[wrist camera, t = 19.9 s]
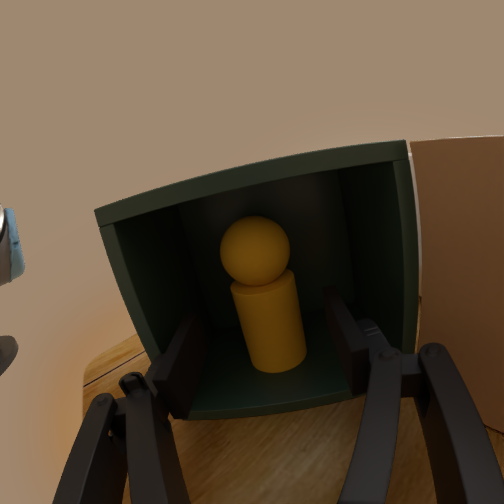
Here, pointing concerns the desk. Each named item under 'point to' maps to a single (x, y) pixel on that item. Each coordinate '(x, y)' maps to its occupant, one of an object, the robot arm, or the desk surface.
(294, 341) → the toy
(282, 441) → the desk surface
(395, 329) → the cabinet
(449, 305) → the cabinet door
